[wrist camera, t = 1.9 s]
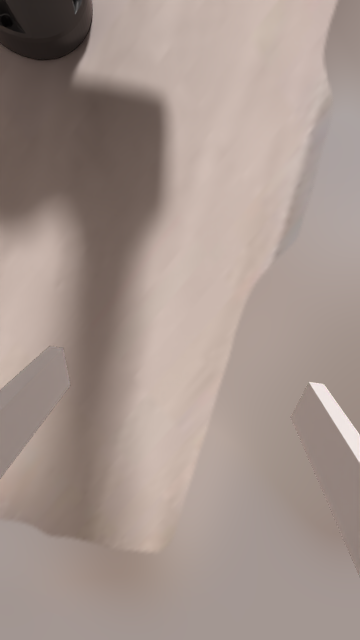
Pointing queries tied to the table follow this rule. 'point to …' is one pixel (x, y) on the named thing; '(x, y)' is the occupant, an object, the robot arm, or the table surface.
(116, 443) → the table surface
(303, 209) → the table surface
